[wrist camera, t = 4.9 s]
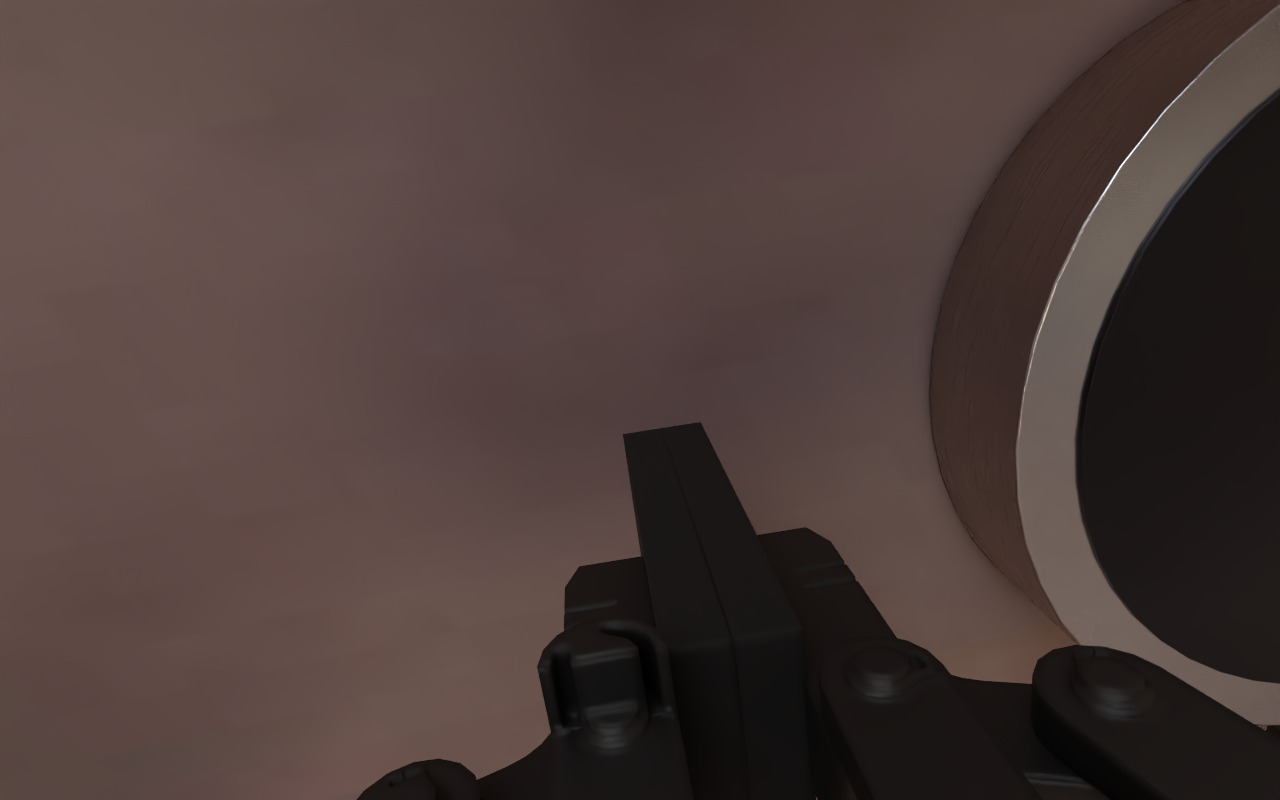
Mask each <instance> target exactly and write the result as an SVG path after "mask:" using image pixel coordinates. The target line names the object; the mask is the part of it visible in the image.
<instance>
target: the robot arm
mask: <svg viewBox="0 0 1280 800" xmlns="http://www.w3.org/2000/svg"><path fill="white" fill-rule="evenodd" d="M623 438H624V444H625V451H626V458H627V464H628V471H629V478H630V484H631V491H632V498H633V504H634V511H635V517H636V524H637V531H638V537H639V544H640V551H641V557H635V558H629V559H623V560H617V561H611V562H605V563H598V564H592V565H586V566H580V567H579V568H578V569H577V571H576V572H575V574H574V575H573V576H572V578H571V579H570V581H569V582H568V584H567V585H566V587H565V614H564V632H562V633H560V634H559V635H557V636H556V637H555V638H554V639H553V640H552V641H551V642H550V643H549V645H548V646H547V647H546V648H545V649H544V650H543V652H542V655H541V658H540V660H539V663H538V666H537V668H538V673H539V678H540V682H541V687H542V692H543V697H544V701H545V706H546V711H547V715H548V720H549V725H550V729H551V733H550V735H549V736H548V737H547V738H546V739H545V740H544V742H543V743H542V744H541V745H540V746H538V747H537V748H536V749H535V750H533V751H532V752H531V753H530V754H528V755H527V756H526V757H524V758H522V759H520V760H519V761H517V762H515V763H513V764H511V765H509V766H508V767H505V768H503V769H501V770H499V771H496V772H494V773H492V774H490V775H487V776H485V777H483V778H481V779H478V780H476V777H475V775H474V774H473V773H472V772H471V771H469V770H468V769H467V768H466V767H464V766H463V765H462V764H461V763H457V762H452V761H448V760H443V759H434V760H426V761H419V762H413V763H411V764H409V765H406V766H404V767H402V768H399V769H397V770H394V771H392V772H390V773H388V774H386V775H385V776H384V777H382V778H381V779H379V780H378V781H377V782H375V783H374V784H373V785H371V786H370V787H369V788H367V789H366V790H365V791H364V792H363V793H362V794H361V795H360V796H359V798H358V799H357V800H816V797H817V799H818V800H1280V740H1279V739H1278V738H1276V737H1274V736H1273V735H1271V734H1270V733H1268V732H1266V731H1265V730H1263V729H1261V728H1260V727H1258V726H1257V725H1255V724H1253V723H1252V722H1250V721H1248V720H1247V719H1245V718H1243V717H1242V716H1240V715H1239V714H1237V713H1235V712H1234V711H1232V710H1230V709H1229V708H1227V707H1225V706H1224V705H1222V704H1221V703H1219V702H1217V701H1216V700H1214V699H1212V698H1211V697H1209V696H1207V695H1206V694H1204V693H1203V692H1201V691H1199V690H1198V689H1196V688H1194V687H1193V686H1191V685H1189V684H1188V683H1186V682H1185V681H1183V680H1181V679H1180V678H1178V677H1176V676H1175V675H1173V674H1171V673H1170V672H1168V671H1167V670H1165V669H1163V668H1162V667H1160V666H1158V665H1155V664H1153V663H1151V662H1149V661H1147V660H1145V659H1143V658H1141V657H1139V656H1136V655H1134V654H1131V653H1127V652H1123V651H1120V650H1116V649H1112V648H1108V647H1104V646H1086V645H1073V646H1068V647H1064V648H1059V649H1054V650H1052V651H1050V652H1049V653H1047V654H1046V655H1044V656H1043V657H1041V658H1040V659H1038V661H1037V664H1036V666H1035V669H1034V672H1033V676H1032V684H1023V683H1008V682H992V681H980V680H973V679H966V678H960V677H957V676H953V675H950V673H949V672H948V670H947V669H946V668H945V666H944V665H943V664H942V663H941V662H940V661H939V660H938V659H936V658H935V657H934V656H933V655H932V654H931V653H930V652H929V651H928V650H926V649H924V648H921V647H919V646H917V645H915V644H913V643H911V642H909V641H907V640H902V639H897V637H896V636H895V635H894V633H893V632H892V630H891V629H890V627H889V626H888V624H887V623H886V621H885V620H884V619H883V617H882V616H881V614H880V613H879V611H878V610H877V608H876V607H875V605H874V604H873V603H872V601H871V600H870V598H869V597H868V595H867V594H866V592H865V591H864V589H863V588H862V587H861V585H860V584H859V582H858V581H856V580H855V576H854V575H853V573H852V572H851V571H850V569H849V568H848V566H847V565H845V564H844V560H843V559H842V558H841V556H840V555H839V553H838V552H837V550H836V549H835V547H834V546H833V544H832V543H831V542H830V541H829V540H827V539H825V538H824V537H822V536H820V535H818V534H817V533H815V532H813V531H812V530H810V529H808V528H806V527H805V528H799V529H793V530H786V531H780V532H774V533H768V534H762V535H756V533H755V531H754V529H753V527H752V525H751V523H750V521H749V519H748V517H747V515H746V513H745V511H744V509H743V507H742V505H741V503H740V501H739V499H738V497H737V495H736V493H735V491H734V489H733V487H732V485H731V483H730V481H729V479H728V477H727V475H726V473H725V471H724V469H723V467H722V465H721V463H720V461H719V459H718V457H717V455H716V452H715V450H714V448H713V446H712V444H711V442H710V440H709V438H708V436H707V434H706V432H705V430H704V428H703V426H702V424H701V422H699V423H692V424H686V425H679V426H673V427H666V428H660V429H654V430H647V431H641V432H634V433H628V434H623Z"/></svg>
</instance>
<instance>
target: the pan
mask: <svg viewBox="0 0 1280 800" xmlns="http://www.w3.org/2000/svg"><path fill="white" fill-rule="evenodd" d="M930 402H931V415H932V428H933V438H934V442H935V447H936V451H937V455H938V460H939V464H940V469H941V473H942V476H943V479H944V481H945V484H946V487H947V489H948V492H949V494H950V497H951V499H952V502H953V504H954V507H955V509H956V511H957V513H958V514H959V516H960V518H961V520H962V521H963V523H964V525H965V526H966V528H967V530H968V531H969V533H970V535H971V537H972V538H973V540H974V541H975V542H976V544H977V545H978V546H979V547H980V548H981V550H982V551H983V552H984V553H985V554H986V556H987V557H988V558H989V559H990V560H991V562H992V563H993V564H994V565H995V566H996V567H997V568H998V569H999V570H1000V571H1001V572H1002V573H1003V574H1004V575H1005V576H1006V577H1007V578H1008V579H1009V580H1010V581H1011V582H1012V583H1013V584H1015V585H1016V586H1017V587H1018V588H1019V589H1020V590H1021V591H1022V592H1023V593H1024V594H1025V595H1026V596H1027V597H1028V598H1029V599H1030V600H1031V601H1032V602H1033V603H1034V604H1035V605H1037V606H1038V607H1039V608H1040V609H1041V610H1042V611H1043V612H1044V613H1045V614H1046V615H1047V616H1048V617H1049V618H1050V619H1051V620H1052V621H1053V622H1054V623H1055V624H1056V625H1058V626H1059V627H1060V628H1061V629H1062V630H1063V631H1064V632H1065V633H1066V634H1067V635H1068V636H1069V637H1070V638H1071V639H1072V640H1073V641H1074V642H1075V643H1076V644H1077V645H1086V646H1104V647H1108V648H1112V649H1116V650H1120V651H1123V652H1127V653H1131V654H1134V655H1136V656H1139V657H1141V658H1143V659H1145V660H1147V661H1149V662H1151V663H1153V664H1155V665H1158V666H1160V667H1162V668H1163V669H1165V670H1167V671H1168V672H1170V673H1171V674H1173V675H1175V676H1176V677H1178V678H1180V679H1181V680H1183V681H1185V682H1186V683H1188V684H1189V685H1191V686H1193V687H1194V688H1196V689H1198V690H1199V691H1201V692H1203V693H1204V694H1206V695H1207V696H1209V697H1211V698H1212V699H1214V700H1216V701H1217V702H1219V703H1221V704H1222V705H1224V706H1225V707H1227V708H1229V709H1230V710H1232V711H1234V712H1235V713H1237V714H1239V715H1240V716H1242V717H1243V718H1245V719H1247V720H1248V721H1250V722H1252V723H1253V724H1255V725H1262V726H1267V731H1266V732H1268V733H1270V734H1271V735H1273V736H1274V737H1276V738H1278V739H1279V740H1280V0H1188V1H1186V2H1184V3H1182V4H1180V5H1178V6H1176V7H1174V8H1172V9H1170V10H1168V11H1166V12H1165V13H1163V14H1162V15H1160V16H1159V17H1157V18H1156V19H1154V20H1153V21H1151V22H1150V23H1148V24H1147V25H1145V26H1144V27H1142V28H1141V29H1139V30H1138V31H1137V32H1135V33H1134V34H1132V35H1131V36H1129V37H1128V38H1126V39H1125V40H1123V41H1122V42H1120V43H1119V44H1118V45H1116V46H1115V47H1114V48H1113V49H1112V50H1111V51H1109V52H1108V53H1107V54H1106V55H1105V56H1104V57H1102V58H1101V59H1100V60H1099V61H1098V62H1097V63H1095V64H1094V65H1093V66H1092V67H1091V68H1090V69H1088V70H1087V71H1086V72H1085V73H1084V74H1083V75H1081V76H1080V77H1079V78H1078V79H1077V80H1076V81H1075V82H1074V83H1073V84H1072V85H1071V86H1070V87H1069V88H1068V89H1067V90H1066V91H1065V92H1064V93H1063V94H1062V96H1061V97H1060V98H1059V99H1058V100H1057V101H1056V102H1055V103H1054V104H1053V105H1052V106H1051V107H1050V108H1049V109H1048V111H1047V112H1046V113H1045V114H1044V115H1043V116H1042V117H1041V118H1040V119H1039V120H1038V121H1037V122H1036V124H1035V125H1034V126H1033V128H1032V129H1031V130H1030V132H1029V133H1028V134H1027V136H1026V137H1025V138H1024V140H1023V141H1022V142H1021V144H1020V145H1019V146H1018V148H1017V149H1016V150H1015V152H1014V153H1013V154H1012V156H1011V157H1010V158H1009V160H1008V161H1007V162H1006V164H1005V165H1004V167H1003V168H1002V170H1001V172H1000V173H999V175H998V177H997V178H996V180H995V182H994V183H993V185H992V187H991V189H990V190H989V192H988V194H987V195H986V197H985V199H984V200H983V202H982V204H981V206H980V207H979V209H978V211H977V212H976V215H975V217H974V219H973V221H972V223H971V226H970V228H969V230H968V232H967V235H966V237H965V239H964V241H963V244H962V246H961V248H960V250H959V253H958V255H957V257H956V259H955V262H954V266H953V269H952V272H951V275H950V278H949V281H948V285H947V288H946V291H945V294H944V297H943V301H942V304H941V308H940V313H939V318H938V324H937V329H936V334H935V340H934V345H933V351H932V367H931V384H930Z"/></svg>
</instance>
